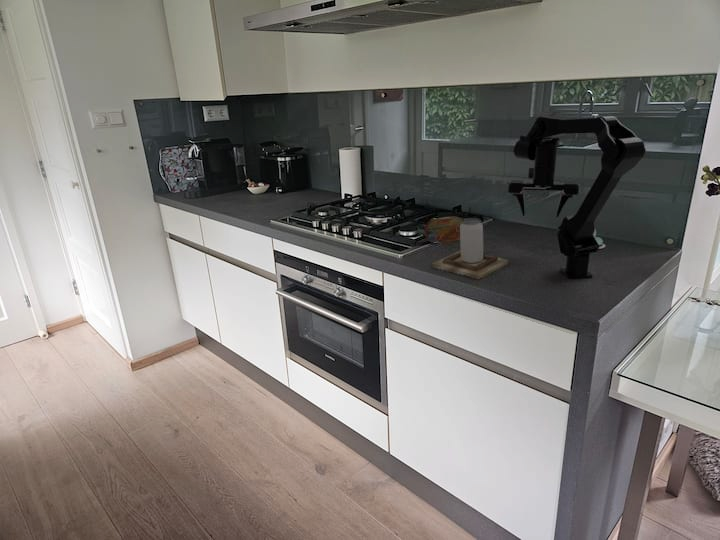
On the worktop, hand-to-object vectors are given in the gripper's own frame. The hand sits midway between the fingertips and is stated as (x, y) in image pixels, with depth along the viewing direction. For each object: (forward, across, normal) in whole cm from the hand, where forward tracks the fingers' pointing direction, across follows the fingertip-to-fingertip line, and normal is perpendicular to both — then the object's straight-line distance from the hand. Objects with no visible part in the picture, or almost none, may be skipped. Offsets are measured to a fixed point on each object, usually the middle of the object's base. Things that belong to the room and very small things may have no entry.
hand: (540, 216), depth 143 cm
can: (+12, +18, +10) cm, 24 cm away
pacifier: (+13, -17, -15) cm, 26 cm away
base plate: (+13, +18, +11) cm, 25 cm away
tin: (+13, +30, -12) cm, 35 cm away
